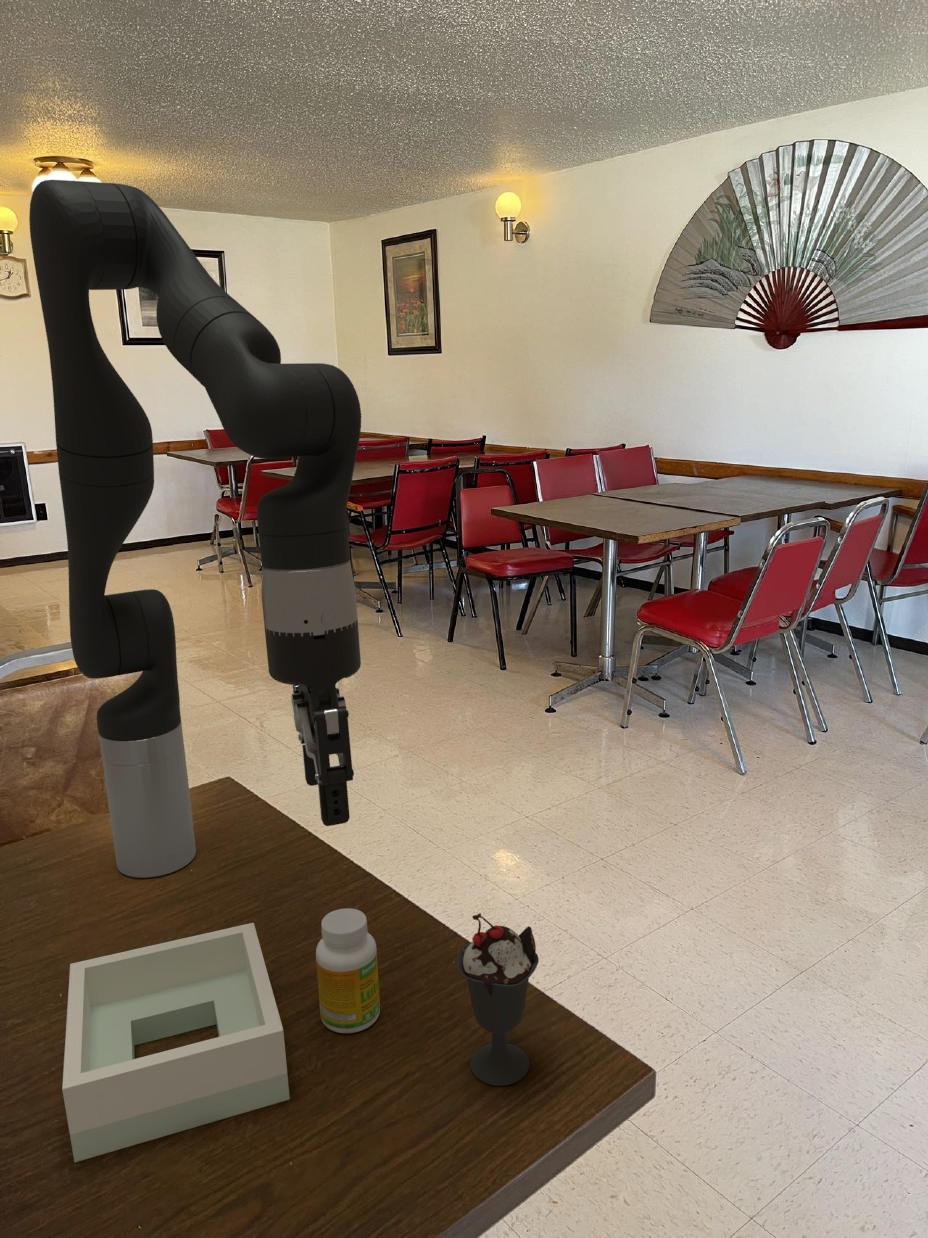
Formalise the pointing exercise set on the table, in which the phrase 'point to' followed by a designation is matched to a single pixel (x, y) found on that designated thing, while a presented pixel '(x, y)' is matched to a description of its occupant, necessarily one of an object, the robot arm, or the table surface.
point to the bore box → (161, 1007)
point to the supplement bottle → (347, 972)
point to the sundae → (498, 997)
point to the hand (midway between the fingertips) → (326, 802)
